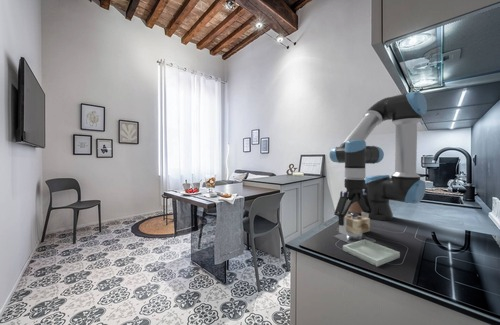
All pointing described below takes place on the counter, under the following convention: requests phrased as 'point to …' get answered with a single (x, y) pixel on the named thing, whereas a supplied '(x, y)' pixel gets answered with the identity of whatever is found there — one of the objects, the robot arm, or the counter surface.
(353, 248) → the tray
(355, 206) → the travel mug
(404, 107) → the robot arm
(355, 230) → the hollow wooden box
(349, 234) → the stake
